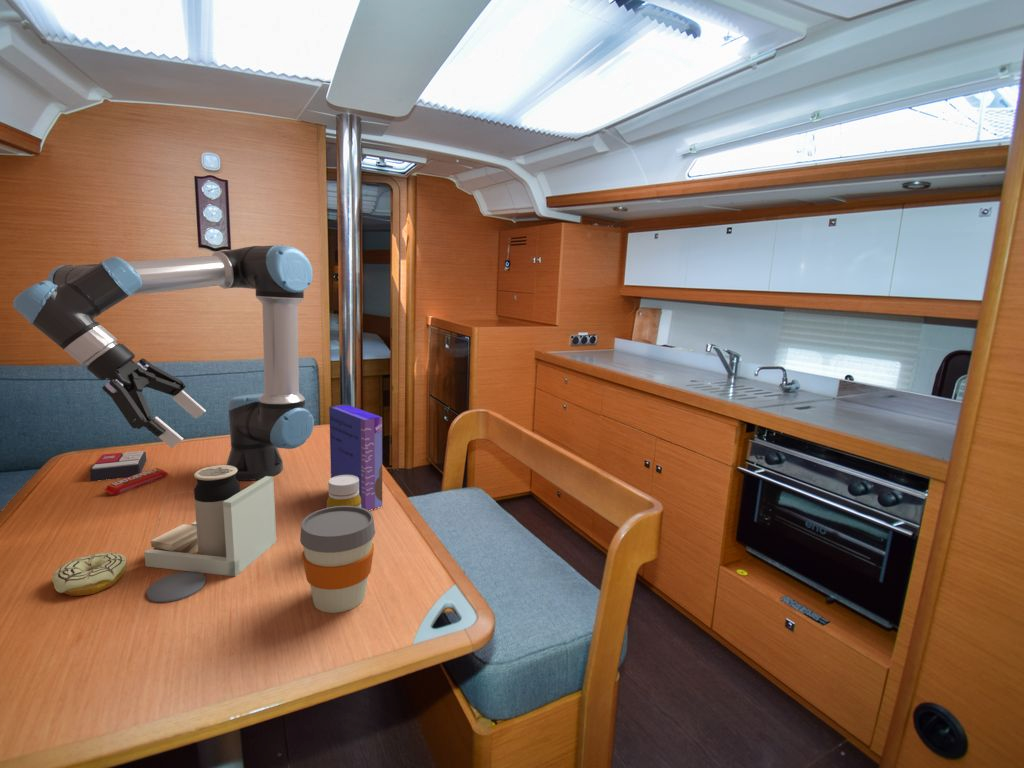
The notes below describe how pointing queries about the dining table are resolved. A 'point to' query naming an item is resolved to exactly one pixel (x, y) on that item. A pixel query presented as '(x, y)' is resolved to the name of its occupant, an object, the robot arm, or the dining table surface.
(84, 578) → the decorated donut
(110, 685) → the dining table surface
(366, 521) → the reusable coffee cup
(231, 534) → the rack
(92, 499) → the dining table surface
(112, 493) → the candy bar
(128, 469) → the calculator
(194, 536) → the offcut stack
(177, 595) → the coaster
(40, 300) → the robot arm
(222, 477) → the travel mug
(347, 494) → the bottle
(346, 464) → the purple rectangular box
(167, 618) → the dining table surface
